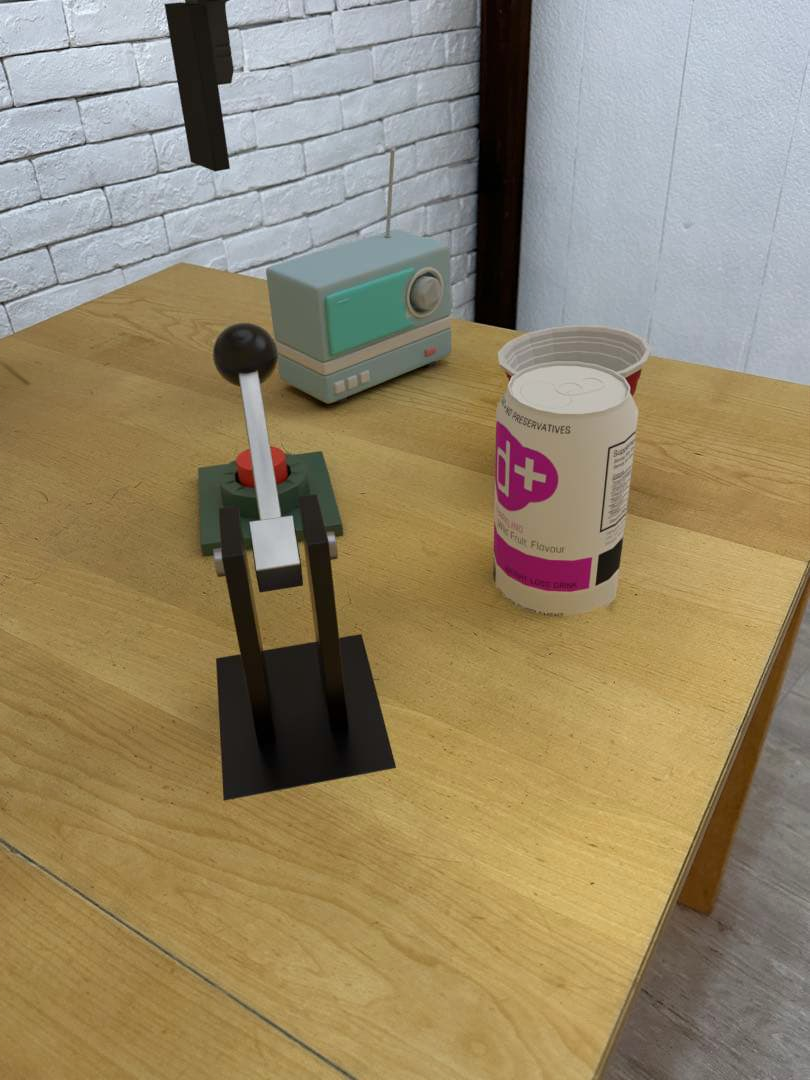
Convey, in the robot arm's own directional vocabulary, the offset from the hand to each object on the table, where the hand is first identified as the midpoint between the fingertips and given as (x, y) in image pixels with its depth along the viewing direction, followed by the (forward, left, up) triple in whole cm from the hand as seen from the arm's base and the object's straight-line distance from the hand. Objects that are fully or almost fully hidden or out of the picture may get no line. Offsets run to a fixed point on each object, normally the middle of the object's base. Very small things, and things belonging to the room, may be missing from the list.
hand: (66, 193), depth 39 cm
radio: (-39, +19, -29) cm, 52 cm away
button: (-16, +7, -25) cm, 30 cm away
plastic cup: (-14, +30, -29) cm, 44 cm away
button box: (-16, +7, -28) cm, 33 cm away
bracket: (+6, +7, -28) cm, 30 cm away
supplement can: (-2, +25, -29) cm, 38 cm away
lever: (-1, +7, -15) cm, 17 cm away
